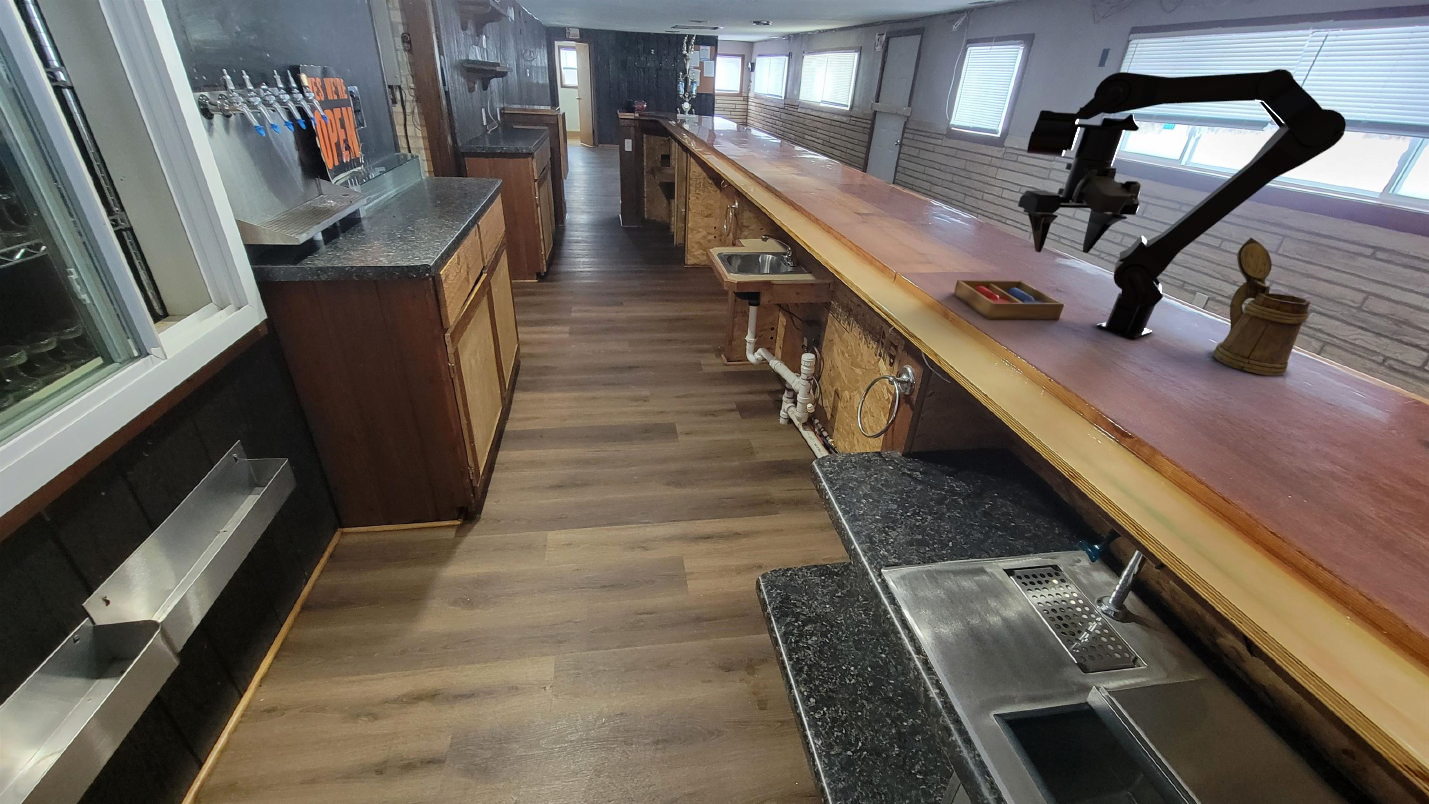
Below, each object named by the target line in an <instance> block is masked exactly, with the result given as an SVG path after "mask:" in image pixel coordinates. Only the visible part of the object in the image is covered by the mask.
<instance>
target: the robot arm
mask: <svg viewBox="0 0 1429 804" xmlns="http://www.w3.org/2000/svg"><path fill="white" fill-rule="evenodd" d="M1245 101H1247V102H1249V101H1256V102H1258V103H1259V104H1260V105H1261V107H1262V108H1263V109H1264V111H1265V112H1266V114H1267V115H1268V116H1269V117H1270V119H1271V120H1272V121H1273V123H1274V124H1275V125H1276V126H1277V127H1278V129H1277V130H1276V131H1274V133H1273V134H1272V136H1270V137H1269V139H1268V140H1266V142H1265V143H1264V144H1263V146H1262V147H1261V148H1260V149H1259V150H1258V151H1257V153H1256V154H1255V155H1254V156H1253V158H1252V159H1251V160H1250V161H1249V162H1248V163H1246V165H1244V166H1243V167H1241V169H1239V170H1238V171H1237V172H1236V173H1234V174H1233V175H1232V176H1231V177H1230V178H1228V179H1227V180H1226V181H1224V182H1223V183H1222V184H1221V185H1220V186H1218V187H1217V188H1216V189H1215V190H1213V191H1212V192H1211V193H1209V195H1207V196H1206V197H1205V198H1204V199H1202V200H1201V201H1200V202H1199V203H1197V204H1196V205H1195V206H1194V207H1192V208H1191V209H1190V210H1189V211H1188V212H1186V213H1185V214H1184V215H1182V216H1181V217H1180V218H1179V219H1178V220H1176V221H1175V222H1174V223H1173V224H1172V225H1170V226H1169V227H1168V228H1166V229H1165V230H1164V231H1163V232H1162V233H1160V234H1158V235H1156V236H1153V237H1152V238H1151V239H1148V240H1147V239H1146V238H1145V237H1144V236H1143V235H1140V236H1139V237H1138V238H1137V239H1136V240H1135V241H1134V242H1133V243H1132V244H1131V245H1130V246H1129V247H1128V248H1126V249H1124V250H1122V251H1120V252H1119V258H1118V259H1117V261H1115V265H1114V270H1113V281H1114V284H1115V285H1116V287H1117V288H1119V289H1120V290H1121V292H1119V293H1118V294H1117V297H1116V299H1115V301H1114V304H1113V307H1112V309H1111V311H1110V314H1109V316H1108V319H1107V320H1106V321H1103V322H1099V323H1097V325H1096V328H1099V329H1102V330H1105V331H1108V332H1111V333H1114V334H1117V335H1120V336H1123V337H1125V338H1129V339H1132V340H1135V339H1139V338H1141V337H1145V336H1147V335H1150V334H1153V333H1152V332H1153V330H1151V329H1148V328H1147V325H1148V323H1149V320H1150V318H1151V316H1152V314H1153V312H1154V309H1155V307H1156V305H1158V303H1159V302H1160V301H1161V300H1162V299H1163V298H1164V294H1163V286H1162V283H1161V281H1160V280H1159V276H1160V275H1161V274H1162V273H1163V272H1165V270H1166V269H1167V268H1168V266H1169V265H1170V264H1171V263H1172V262H1173V260H1174V259H1175V258H1176V256H1177V255H1178V254H1179V253H1180V252H1181V251H1183V250H1184V249H1185V248H1186V247H1188V246H1189V245H1190V244H1192V243H1193V242H1194V241H1195V240H1197V239H1198V238H1199V237H1201V236H1202V235H1203V234H1205V233H1206V232H1207V231H1208V230H1209V229H1211V228H1212V227H1213V226H1215V225H1216V224H1218V223H1219V222H1220V221H1221V220H1223V219H1224V218H1225V217H1226V216H1228V215H1229V214H1231V212H1233V211H1234V210H1235V209H1237V208H1238V207H1239V206H1241V205H1242V204H1243V203H1245V202H1246V201H1247V200H1248V199H1250V198H1251V197H1252V196H1254V195H1255V194H1256V193H1257V192H1259V191H1260V190H1262V189H1263V188H1264V187H1265V186H1267V185H1268V184H1269V183H1271V182H1272V181H1273V180H1275V179H1276V178H1279V177H1280V176H1282V175H1285V174H1286V173H1288V172H1291V171H1293V170H1294V169H1296V168H1298V167H1300V166H1302V165H1304V164H1306V163H1308V162H1310V161H1311V160H1312V159H1314V158H1316V157H1317V156H1319V155H1321V154H1322V153H1324V152H1326V151H1328V150H1330V149H1332V147H1334V146H1335V145H1336V144H1337V143H1338V142H1339V141H1340V140H1341V139H1342V138H1343V136H1344V135H1345V131H1346V127H1347V123H1346V118H1345V117H1344V115H1343V114H1341V113H1340V112H1339V111H1337V110H1334V109H1326V108H1323V107H1322V106H1321V105H1320V104H1319V102H1318V101H1317V100H1316V99H1315V98H1314V97H1312V96H1311V94H1309V93H1308V92H1307V90H1305V88H1303V87H1302V85H1300V84H1299V83H1298V82H1297V81H1296V79H1294V75H1293V74H1292V72H1291V71H1289V70H1287V69H1282V68H1276V69H1271V70H1268V71H1261V72H1260V71H1259V72H1258V71H1257V72H1244V73H1243V72H1242V73H1225V74H1224V73H1223V74H1208V75H1192V76H1191V75H1189V76H1175V77H1173V76H1172V77H1171V76H1162V75H1161V76H1160V75H1153V74H1147V73H1146V74H1144V73H1137V72H1136V73H1135V72H1125V71H1118V72H1114V73H1112V74H1109V75H1108V76H1106V77H1105V78H1104V79H1103V80H1101V82H1100V83H1099V84H1098V85H1097V87H1096V88H1095V91H1094V94H1093V97H1092V98H1091V99H1090V100H1088V102H1087V103H1086V104H1084V105H1083V106H1080V107H1079V109H1078V111H1077V112H1076V113H1075V112H1060V111H1059V112H1057V111H1053V110H1047V109H1042V110H1040V111H1039V115H1038V118H1037V120H1036V122H1035V125H1034V127H1033V130H1032V131H1031V133H1030V136H1029V139H1028V144H1027V149H1026V154H1033V155H1043V156H1054V157H1055V156H1056V157H1063V156H1064V155H1065V152H1068V151H1073V149H1074V146H1075V144H1076V141H1077V138H1078V135H1079V132H1080V129H1081V128H1082V133H1081V136H1080V139H1079V142H1078V145H1077V147H1076V152H1075V154H1074V157H1073V160H1072V162H1067V163H1066V166H1065V170H1066V171H1067V170H1068V171H1069V173H1068V176H1067V179H1066V182H1065V185H1064V187H1059V188H1058V191H1057V193H1054V192H1051V191H1046V190H1027V189H1026V190H1025V191H1024V192H1023V193H1022V195H1020V197H1019V200H1018V204H1017V207H1019V208H1021V209H1023V213H1026V214H1027V215H1028V219H1029V223H1030V226H1031V232H1032V238H1033V239H1032V240H1033V245H1034V251H1035V252H1036V253H1041V252H1042V250H1043V248H1044V246H1045V243H1046V240H1047V237H1048V233H1049V230H1050V228H1051V226H1052V225H1051V224H1052V223H1053V222H1054V221H1055V220H1056V219H1057V218H1058V217H1059V215H1058V214H1056V213H1055V212H1057V211H1058V210H1060V209H1061V208H1062V209H1090V213H1089V216H1088V222H1087V226H1086V230H1085V235H1084V240H1083V243H1082V253H1085V254H1089V253H1090V251H1091V250H1092V249H1093V248H1094V247H1095V245H1096V244H1097V243H1098V242H1099V241H1100V239H1101V238H1102V237H1103V236H1104V234H1105V233H1106V232H1107V231H1108V230H1109V229H1110V228H1111V227H1112V226H1113V225H1115V224H1116V223H1119V222H1120V221H1124V220H1127V219H1128V218H1129V216H1135V215H1137V212H1138V210H1139V208H1140V205H1141V203H1140V200H1139V195H1140V192H1141V188H1142V184H1141V183H1140V182H1139V181H1137V180H1125V181H1124V182H1122V181H1121V182H1120V181H1116V180H1115V179H1116V178H1115V177H1116V174H1117V167H1112V166H1113V163H1114V161H1115V158H1116V154H1117V152H1118V149H1119V146H1120V144H1121V141H1122V138H1123V135H1124V133H1125V131H1127V132H1138V130H1139V129H1140V126H1139V124H1137V123H1136V122H1137V121H1135V118H1134V114H1133V113H1129V115H1128V116H1126V117H1125V118H1117V117H1103V119H1102V121H1101V124H1094V123H1078V122H1079V120H1087V121H1088V120H1090V119H1092V118H1094V117H1097V116H1099V115H1101V114H1108V115H1113V114H1119V113H1124V112H1130V111H1135V110H1140V109H1145V108H1151V107H1155V106H1160V105H1172V104H1175V105H1176V104H1195V103H1196V104H1198V103H1222V102H1224V103H1225V102H1245Z"/></svg>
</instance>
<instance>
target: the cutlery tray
mask: <svg viewBox="0 0 1429 804" xmlns="http://www.w3.org/2000/svg"><path fill="white" fill-rule="evenodd" d="M978 286H983V287H985V288H986V289H988V290H989V291H991V292H993V293H994V294H996V295H997V296H998V297H999V299H1004V300H1007V301H1009V302H1010V303H994V302H992V301H991V300H989V299H988V298H986V297H985V296H983V295H982V294H980V293H979V292H977V291H976V290H975V289H976V288H977V287H978ZM1011 288H1017V289H1019V290H1021V291H1023V292H1024V293H1026V294H1028V295H1030V296H1031V297H1033V298H1034V300H1036V301H1040V302H1043V303H1023V302H1021V301H1019V300H1018V299H1016V298H1015V297H1013V296H1011V295H1010V294H1008V291H1009V290H1010V289H1011ZM953 295H954V296H955V297H957V298H958V299H960V300H961V301H962V302H964V303H965V304H967V305H968V306H969V307H971V308H972V309H974V310H975V311H976V312H977V313H979V314H981V315H982V316H983V317H985V318H986V319H987V320H1060V317H1061V315H1062V312H1063V311H1064V306H1065V303H1063V302H1061V301H1060V300H1057V299H1056V298H1054V297H1052V296H1051V295H1049V294H1047V293H1045V292H1044V291H1042V290H1040V289H1038V288H1036V287H1034V286H1032V285H1030V284H1029V283H1027V282H1025V281H1023V280H1010V279H1009V280H1007V279H1006V280H1005V279H1004V280H1001V279H999V280H998V279H997V280H995V279H994V280H993V279H992V280H991V279H989V280H988V279H985V280H984V279H956V284H955V287H954V291H953Z"/></svg>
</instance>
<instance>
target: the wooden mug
mask: <svg viewBox="0 0 1429 804" xmlns="http://www.w3.org/2000/svg"><path fill="white" fill-rule="evenodd" d="M1236 260H1237V261H1236V262H1237V267H1238V269H1239V272H1240V274H1241V275H1242V276H1243V278H1244V279H1245V282H1244V283H1242V284H1241V285H1240V286H1239V287H1238V288H1237V289H1236V291H1235V292H1234V294H1233V295H1232V297H1231V301H1230V304H1229V320H1230V325H1229V326H1230V329H1229V331H1228V334H1226V335H1227V336H1225V338H1224V339H1223V341H1220V342H1218V343H1217V345H1216V346H1215V349H1214V350H1213V353H1212V355H1213V358H1214V359H1216V360H1217V361H1218V362H1220V363H1221V364H1224V365H1225V366H1228V367H1230V368H1233V369H1237V370H1240V371H1244V372H1248V373H1251V374H1256V375H1262V376H1282V375H1284V374H1285V373H1286V372H1287V369H1288V365H1289V362H1288V361H1289V359H1290V356H1291V354H1292V351H1293V349H1294V346H1295V343H1296V341H1297V338H1298V335H1299V333H1300V330H1301V328H1302V326H1303V323H1305V322H1307V319H1308V316H1309V313H1310V312H1309V307H1310V304H1311V300H1309V299H1307V298H1304V297H1301V296H1297V295H1293V294H1287V293H1286V294H1285V293H1277V292H1270V290H1271V287H1270V286H1269V285H1267V283H1266V279H1267V278H1268V277H1269V275H1270V273H1271V272H1272V266H1273V264H1272V258H1271V255H1270V253H1269V252H1268V250H1267V249H1266V247H1265V246H1264V245H1263V244H1261V243H1260V242H1259V241H1257V240H1256V239H1255V238H1253V237H1249V239H1247V240H1246V241H1245V242H1244V243H1243V244H1242V245H1241V246H1240V248H1239V249H1238V251H1237V254H1236ZM1249 299H1251V300H1250V301H1249V302H1247V303H1246V304H1245V306H1244V307H1243V305H1244V303H1245V302H1246V301H1247V300H1249Z"/></svg>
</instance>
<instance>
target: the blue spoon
mask: <svg viewBox="0 0 1429 804" xmlns="http://www.w3.org/2000/svg"><path fill="white" fill-rule="evenodd" d="M1008 294H1010V295H1011V296H1013V297H1015V298H1016V299H1018V300H1019V301H1021V302H1023V303H1043V302H1040V301H1036V300H1034V298H1033V297H1031V296H1030V295H1028V294H1026V293H1024V292H1023V291H1021V290H1019V289H1017V288H1011V289H1010V290H1009V291H1008Z"/></svg>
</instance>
